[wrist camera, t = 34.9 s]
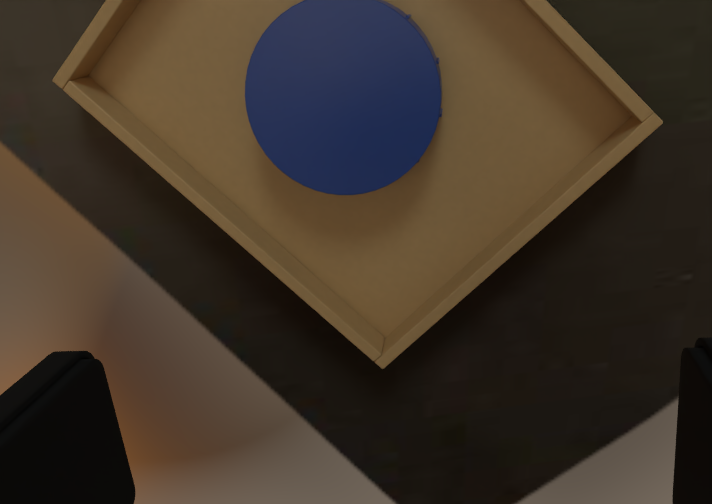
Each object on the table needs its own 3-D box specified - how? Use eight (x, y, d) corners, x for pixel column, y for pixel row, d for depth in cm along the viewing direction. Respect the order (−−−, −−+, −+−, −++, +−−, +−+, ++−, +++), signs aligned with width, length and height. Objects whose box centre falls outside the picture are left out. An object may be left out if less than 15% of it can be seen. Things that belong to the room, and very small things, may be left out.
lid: (245, 4, 24) (229, 4, 23) (436, -18, 23) (434, -19, 22) (272, 187, 27) (260, 200, 25) (447, 176, 26) (446, 189, 24)
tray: (648, 112, 24) (664, 122, 23) (387, 346, 29) (382, 369, 28) (300, -248, 22) (286, -270, 20) (78, 74, 27) (51, 80, 25)
